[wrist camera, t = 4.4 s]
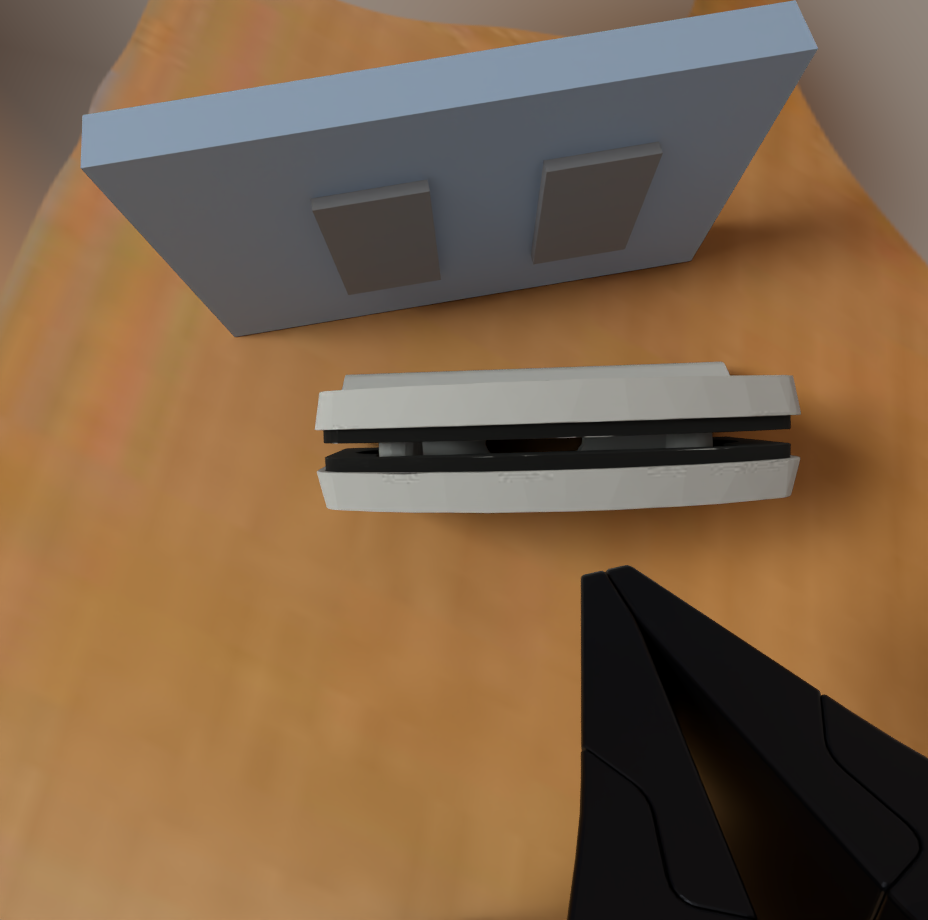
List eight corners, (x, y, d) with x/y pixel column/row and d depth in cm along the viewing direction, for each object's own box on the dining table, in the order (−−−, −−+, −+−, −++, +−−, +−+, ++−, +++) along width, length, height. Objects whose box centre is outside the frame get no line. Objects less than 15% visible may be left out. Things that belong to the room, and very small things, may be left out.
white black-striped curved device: (714, 365, 24) (884, 325, 14) (714, 470, 24) (879, 504, 14) (345, 378, 24) (254, 348, 14) (350, 480, 25) (264, 521, 15)
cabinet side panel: (694, 269, 25) (823, 61, 16) (235, 346, 25) (80, 181, 15) (679, 226, 26) (795, 0, 16) (232, 300, 26) (83, 115, 16)
